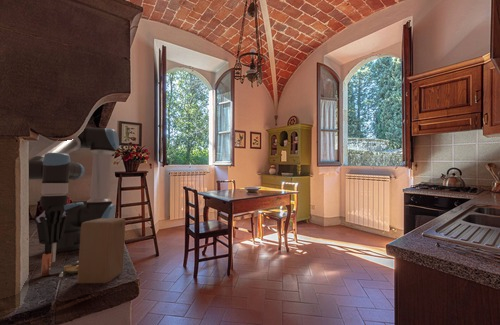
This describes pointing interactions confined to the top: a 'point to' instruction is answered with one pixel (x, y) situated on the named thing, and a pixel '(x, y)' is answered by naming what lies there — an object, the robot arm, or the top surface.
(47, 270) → the crank handle
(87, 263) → the wooden block
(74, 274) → the level base
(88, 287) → the top surface
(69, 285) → the top surface
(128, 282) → the top surface
